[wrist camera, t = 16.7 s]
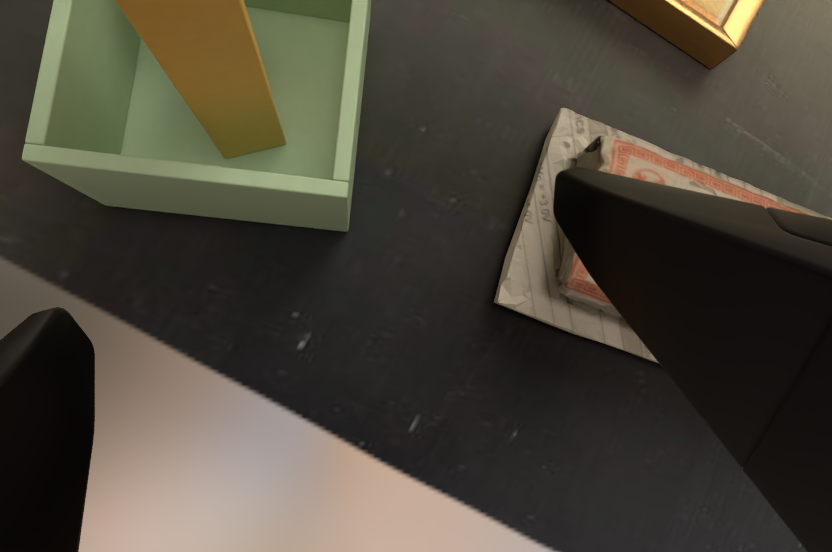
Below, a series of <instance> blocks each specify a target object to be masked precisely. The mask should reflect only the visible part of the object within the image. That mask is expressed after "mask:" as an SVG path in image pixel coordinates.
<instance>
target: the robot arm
mask: <svg viewBox="0 0 832 552" xmlns="http://www.w3.org/2000/svg"><path fill="white" fill-rule="evenodd" d="M553 213H554V217H555V219H556V221H557V223H558V225H559V226H560V228H561V229H562V231H563V233H564V234H565V236H566V238H567V239H568V241H569V242H570V244H571V246H572V247H573V249H574V251H575V252H576V254H577V256H578V257H579V259H580V260H581V262H582V264H583V265H584V267H585V268H586V270H587V271H588V273H589V274H590V276H591V277H592V279H593V280H594V281H595V283H596V284H597V285H598V287H599V288H600V289H601V290H602V292H603V293H604V294H605V296H606V297H607V298H608V299H609V301H610V302H611V303H612V304H613V306H614V307H615V308H616V309H617V311H618V312H619V313H620V315H621V316H622V317H623V318H624V320H625V321H626V322H627V323H628V325H629V326H630V327H631V328H632V330H633V331H634V332H635V334H636V335H637V336H638V337H639V339H640V340H641V341H642V342H643V344H644V345H645V346H646V347H647V349H648V350H649V351H650V353H651V354H652V355H653V356H654V358H655V359H656V360H657V361H658V363H659V364H660V365H661V366H662V368H663V369H664V370H665V372H666V373H667V374H668V375H669V377H670V378H671V379H672V380H673V382H674V383H675V384H676V386H677V387H678V388H679V389H680V391H681V392H682V393H683V394H684V396H685V397H686V398H687V399H688V401H689V402H690V403H691V405H692V406H693V407H694V408H695V410H696V411H697V412H698V413H699V415H700V416H701V417H702V418H703V420H704V421H705V422H706V424H707V425H708V426H709V427H710V429H711V430H712V431H713V432H714V434H715V435H716V436H717V437H718V439H719V440H720V441H721V443H722V444H723V445H724V446H725V448H726V449H727V450H728V451H729V453H730V454H731V455H732V456H733V458H734V459H735V460H736V462H737V463H738V464H739V465H740V467H742V468H743V471H744V472H745V473H746V475H747V476H748V477H749V479H750V480H751V481H752V482H753V484H754V485H755V486H756V487H757V489H758V490H759V491H760V492H761V494H762V495H763V496H764V498H765V499H766V500H767V501H768V503H769V504H770V505H771V506H772V508H773V509H774V510H775V511H776V513H777V514H778V515H779V517H780V518H781V519H782V520H783V522H784V523H785V524H786V525H787V527H788V528H789V529H790V530H791V532H792V533H793V534H794V536H795V537H796V538H797V539H798V541H799V542H800V543H801V544H802V546H803V547H804V548H805V549H806V551H807V552H832V219H826V218H821V217H816V216H811V215H806V214H801V213H796V212H791V211H786V210H782V209H777V208H772V207H767V208H765V207H764V206H762V205H758V204H753V203H748V202H744V201H739V200H734V199H729V198H725V197H720V196H715V195H710V194H706V193H701V192H696V191H692V190H687V189H682V188H677V187H673V186H668V185H663V184H659V183H654V182H649V181H644V180H640V179H635V178H630V177H626V176H621V175H616V174H611V173H607V172H602V171H597V170H593V169H588V168H583V167H573V168H569V169H566V170H562V171H560V172H559V173H558V174H557V175H556V178H555V187H554V201H553ZM94 364H95V354H94V348H93V345H92V343H91V341H90V339H89V338H88V337H87V335H86V334H85V333H84V331H83V330H82V329H81V328H80V327H79V325H78V324H77V323H76V321H75V320H74V319H73V317H72V316H71V315H70V314H69V313H68V312H67V311H66V310H65V309H63V308H59V307H56V308H52V309H48V310H44V311H41V312H38V313H34V314H32V315H31V316H29V317H28V318H27V319H26V320H24V321H23V322H22V323H21V324H20V325H18V326H17V327H16V328H15V329H13V330H12V331H11V332H10V333H9V334H7V335H6V336H5V337H4V338H3V339H1V340H0V552H78V549H79V542H80V535H81V527H82V519H83V512H84V505H85V498H86V490H87V483H88V475H89V468H90V460H91V453H92V446H93V436H94V420H95V418H94V417H95V415H94V414H95V407H94V406H95V403H94V402H95V401H94V400H95V393H94V392H95V387H94V386H95V383H94V382H95V381H94V380H95V365H94Z"/></svg>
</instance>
